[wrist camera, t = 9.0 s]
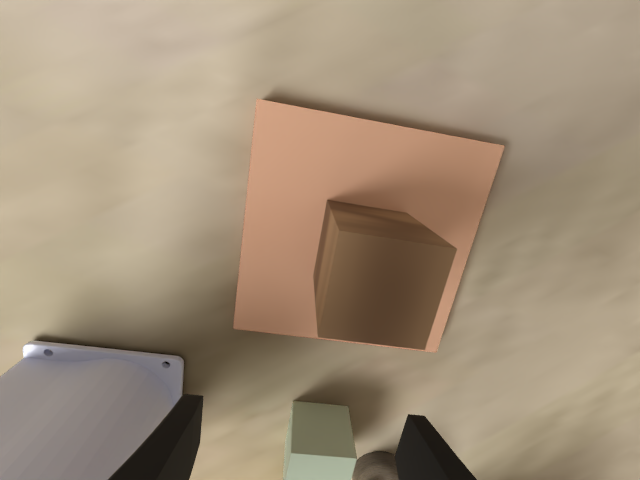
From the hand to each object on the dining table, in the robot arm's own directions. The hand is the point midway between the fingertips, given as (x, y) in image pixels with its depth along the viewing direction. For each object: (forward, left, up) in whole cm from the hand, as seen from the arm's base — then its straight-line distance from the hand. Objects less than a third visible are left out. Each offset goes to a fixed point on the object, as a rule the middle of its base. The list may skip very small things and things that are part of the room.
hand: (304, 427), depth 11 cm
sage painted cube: (+3, -10, -10) cm, 14 cm away
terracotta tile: (+3, +4, -9) cm, 11 cm away
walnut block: (+3, +4, -8) cm, 10 cm away
